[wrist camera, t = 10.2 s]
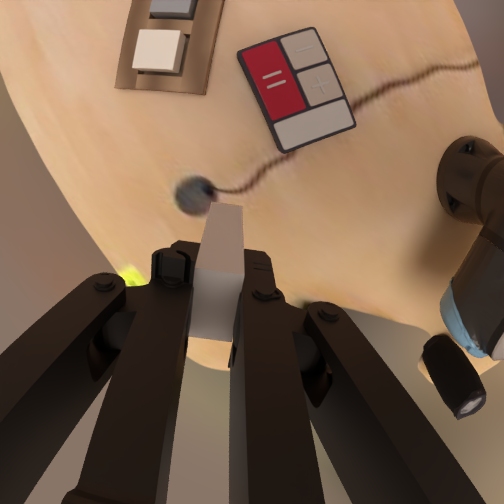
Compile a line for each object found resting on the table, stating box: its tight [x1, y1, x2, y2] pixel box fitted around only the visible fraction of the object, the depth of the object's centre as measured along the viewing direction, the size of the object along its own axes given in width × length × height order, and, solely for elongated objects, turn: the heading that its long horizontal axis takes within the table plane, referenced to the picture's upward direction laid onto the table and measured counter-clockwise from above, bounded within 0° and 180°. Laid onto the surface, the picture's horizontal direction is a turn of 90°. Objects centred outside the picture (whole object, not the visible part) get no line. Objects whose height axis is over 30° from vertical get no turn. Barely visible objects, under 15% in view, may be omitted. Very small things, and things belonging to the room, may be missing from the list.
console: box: [115, 0, 225, 95], centre depth 31 cm, size 12×26×3 cm, turn 170°
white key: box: [132, 29, 186, 73], centre depth 31 cm, size 5×5×4 cm
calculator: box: [237, 27, 356, 154], centre depth 37 cm, size 11×4×15 cm
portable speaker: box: [422, 336, 486, 420], centre depth 53 cm, size 9×9×20 cm
